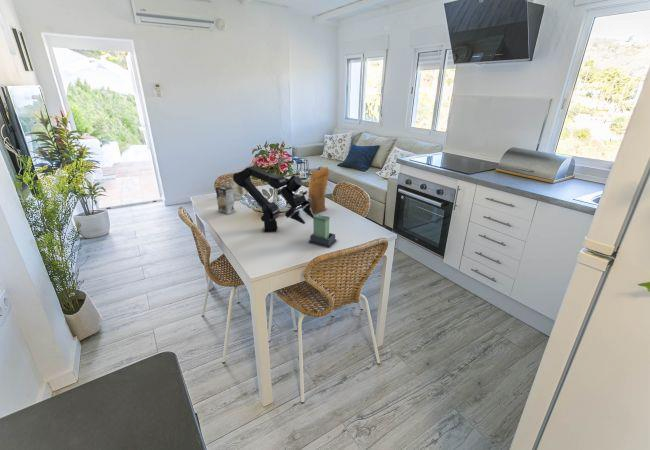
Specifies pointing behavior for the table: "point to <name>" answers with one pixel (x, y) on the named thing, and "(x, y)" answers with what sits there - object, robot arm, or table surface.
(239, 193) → the ceramic cottage
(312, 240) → the dark grey open box
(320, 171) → the pancake mix bag
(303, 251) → the table surface
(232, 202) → the coffee box
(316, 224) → the green box
